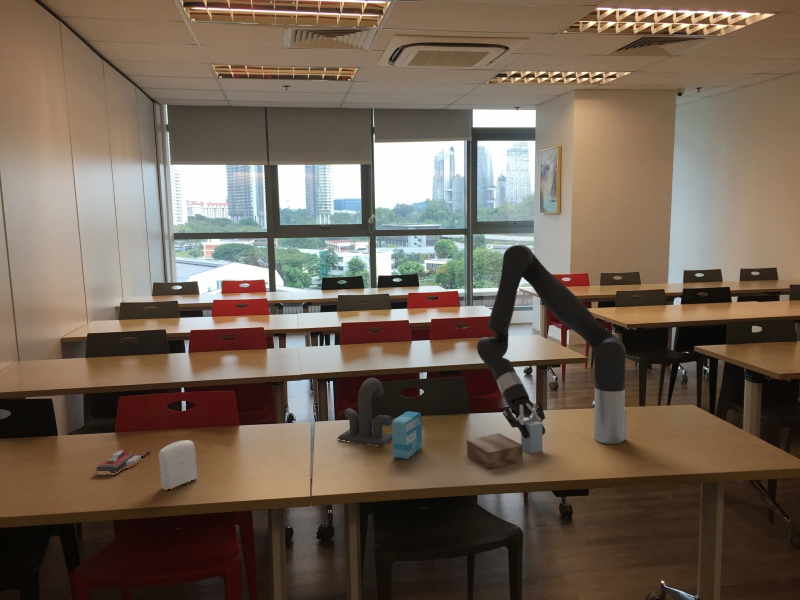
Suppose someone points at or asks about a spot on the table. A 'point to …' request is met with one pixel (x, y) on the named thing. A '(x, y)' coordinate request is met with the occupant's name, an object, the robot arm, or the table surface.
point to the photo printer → (177, 463)
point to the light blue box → (406, 434)
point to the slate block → (532, 437)
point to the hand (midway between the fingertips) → (535, 435)
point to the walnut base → (494, 450)
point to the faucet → (367, 418)
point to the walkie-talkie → (118, 461)
